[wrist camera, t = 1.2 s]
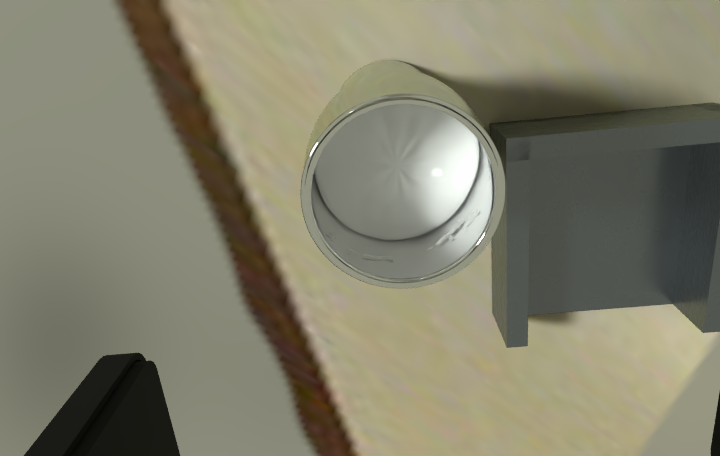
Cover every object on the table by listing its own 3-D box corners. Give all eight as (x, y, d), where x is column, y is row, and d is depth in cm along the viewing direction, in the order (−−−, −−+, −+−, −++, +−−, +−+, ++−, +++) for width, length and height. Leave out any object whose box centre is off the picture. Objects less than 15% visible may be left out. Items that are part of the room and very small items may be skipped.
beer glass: (471, 87, 31) (556, 150, 17) (411, 193, 33) (443, 325, 19) (360, 28, 30) (353, 43, 16) (306, 142, 32) (259, 242, 18)
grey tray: (490, 123, 32) (506, 138, 28) (712, 102, 31) (759, 114, 27) (492, 312, 36) (506, 347, 32) (687, 297, 36) (724, 331, 32)
